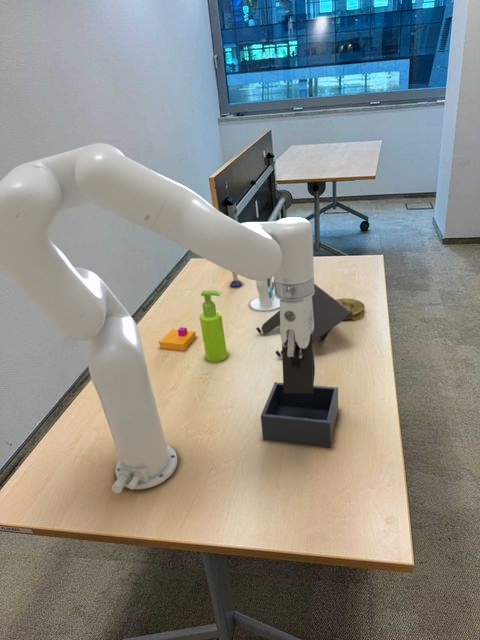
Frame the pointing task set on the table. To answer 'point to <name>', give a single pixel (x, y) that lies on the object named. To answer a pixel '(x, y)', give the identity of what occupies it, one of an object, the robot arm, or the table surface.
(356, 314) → the compass
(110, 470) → the table surface
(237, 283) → the toy lamp
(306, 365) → the phone stand
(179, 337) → the orange tile with knob
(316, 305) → the laptop tray
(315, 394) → the tote
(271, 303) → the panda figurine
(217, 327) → the soap dispenser
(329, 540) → the table surface
